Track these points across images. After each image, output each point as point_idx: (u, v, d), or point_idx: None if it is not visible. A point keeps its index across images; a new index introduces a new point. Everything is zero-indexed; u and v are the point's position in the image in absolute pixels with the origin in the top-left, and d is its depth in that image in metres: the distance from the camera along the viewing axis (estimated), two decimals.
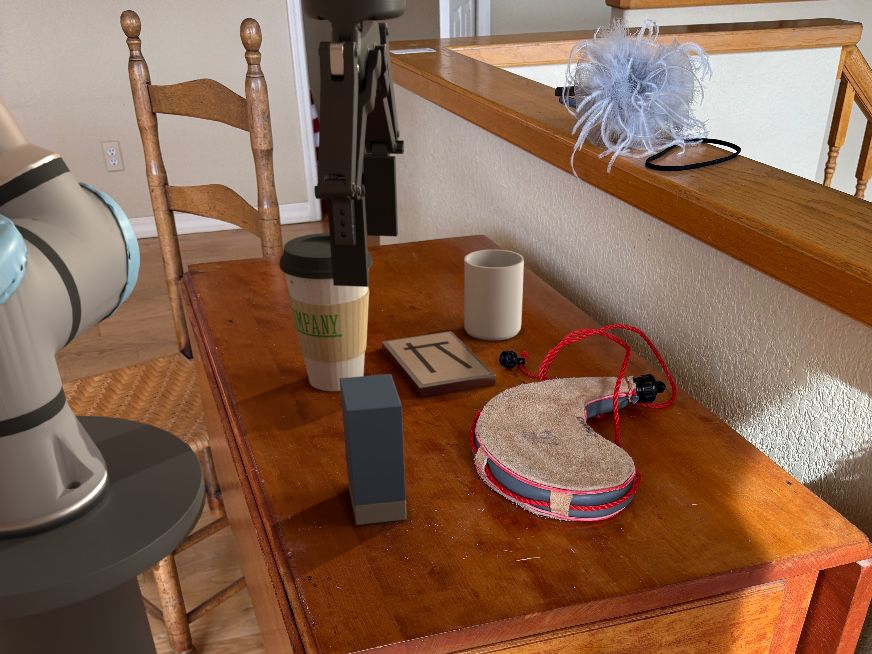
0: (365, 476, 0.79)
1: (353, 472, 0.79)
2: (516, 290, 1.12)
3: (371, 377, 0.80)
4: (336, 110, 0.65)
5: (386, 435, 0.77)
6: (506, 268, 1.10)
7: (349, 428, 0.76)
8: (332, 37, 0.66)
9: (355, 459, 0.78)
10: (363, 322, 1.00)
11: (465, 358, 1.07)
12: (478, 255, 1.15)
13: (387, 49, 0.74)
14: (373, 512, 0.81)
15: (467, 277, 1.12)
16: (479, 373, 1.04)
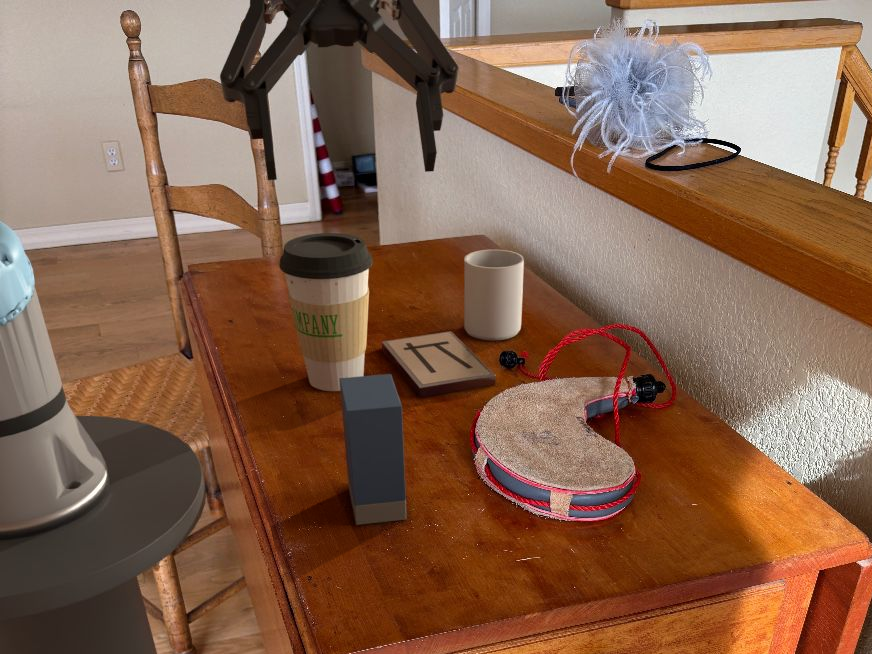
0: (365, 476, 0.79)
1: (353, 472, 0.79)
2: (516, 290, 1.12)
3: (371, 377, 0.80)
4: None
5: (386, 435, 0.77)
6: (506, 268, 1.10)
7: (349, 428, 0.76)
8: None
9: (355, 459, 0.78)
10: (363, 322, 1.00)
11: (465, 358, 1.07)
12: (478, 255, 1.15)
13: None
14: (373, 512, 0.81)
15: (467, 277, 1.12)
16: (479, 373, 1.04)
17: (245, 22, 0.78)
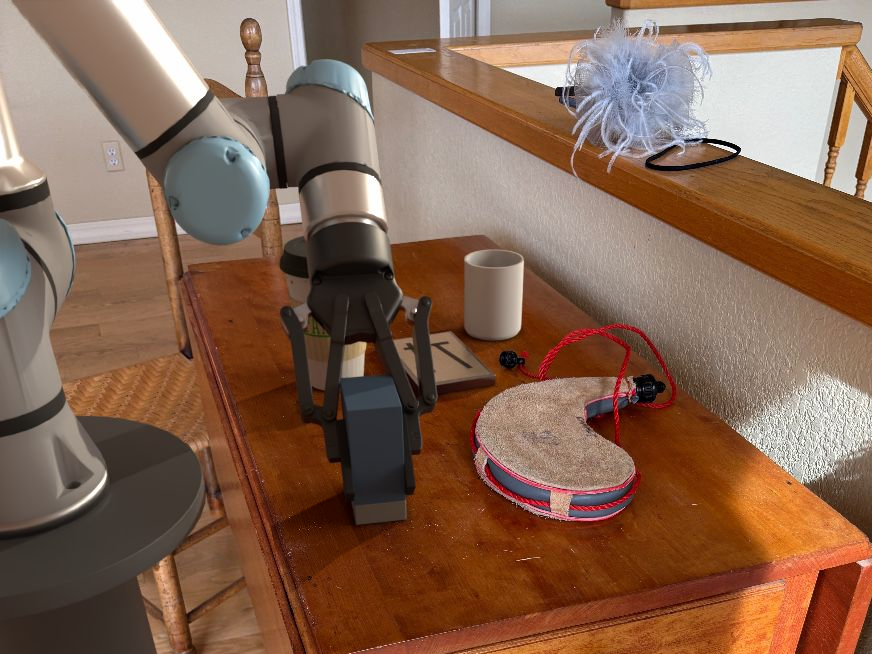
0: (365, 476, 0.79)
1: (353, 472, 0.79)
2: (516, 290, 1.12)
3: (371, 377, 0.80)
4: None
5: (386, 435, 0.77)
6: (506, 268, 1.10)
7: (349, 428, 0.76)
8: (395, 283, 0.82)
9: (355, 459, 0.78)
10: None
11: (465, 358, 1.07)
12: (478, 255, 1.15)
13: None
14: (373, 512, 0.81)
15: (467, 277, 1.12)
16: (479, 373, 1.04)
17: (294, 349, 0.79)
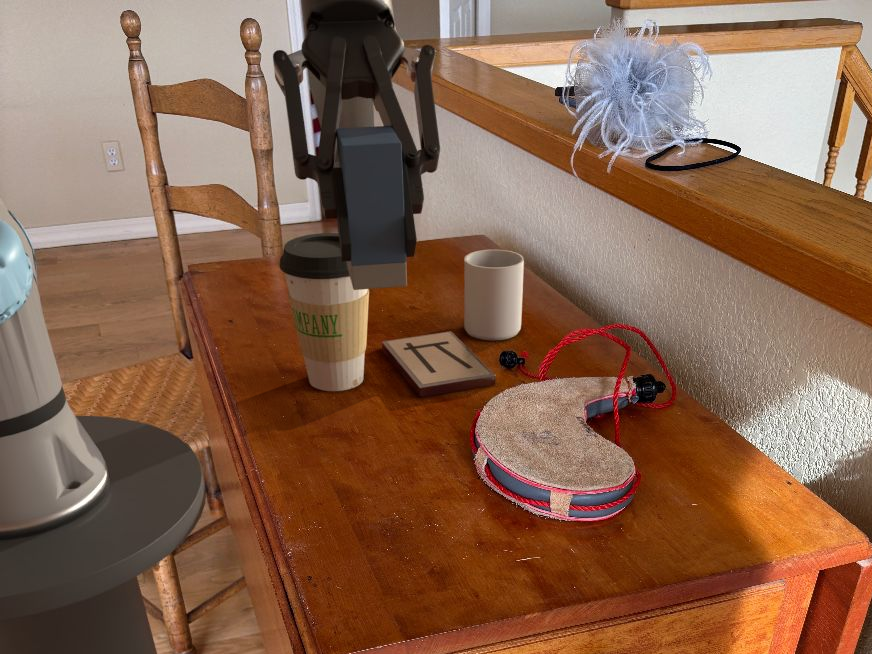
0: (363, 229, 0.74)
1: (350, 223, 0.74)
2: (516, 290, 1.12)
3: (370, 127, 0.75)
4: None
5: (384, 179, 0.72)
6: (506, 268, 1.10)
7: (345, 168, 0.71)
8: (395, 31, 0.77)
9: (352, 207, 0.73)
10: (363, 322, 1.00)
11: (465, 358, 1.07)
12: (478, 255, 1.15)
13: None
14: (372, 275, 0.76)
15: (467, 277, 1.12)
16: (479, 373, 1.04)
17: (288, 94, 0.74)
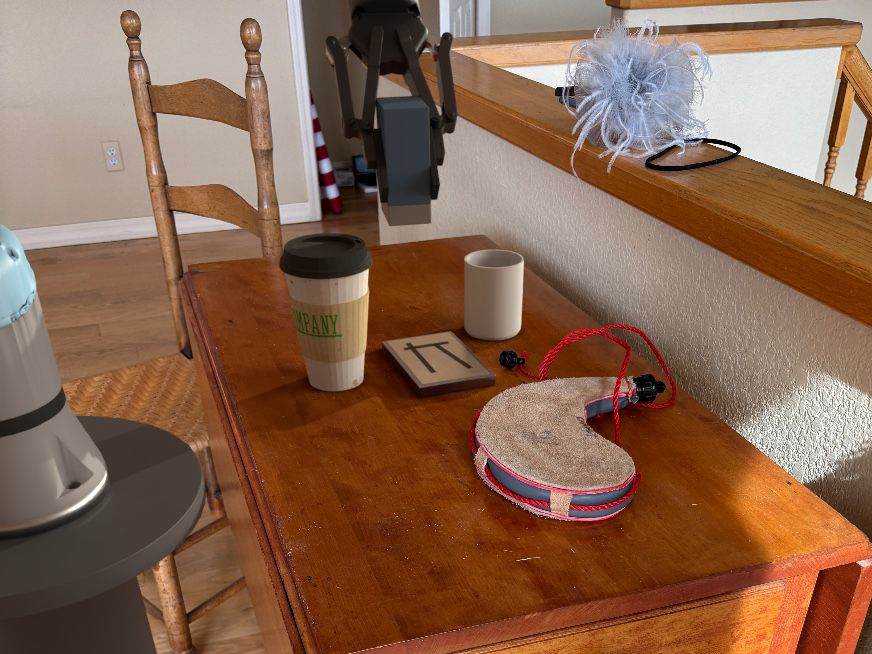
0: (398, 177, 0.94)
1: (387, 172, 0.94)
2: (516, 290, 1.12)
3: (402, 97, 0.95)
4: None
5: (415, 136, 0.92)
6: (506, 268, 1.10)
7: (385, 127, 0.91)
8: (421, 21, 0.97)
9: (390, 159, 0.93)
10: (363, 322, 1.00)
11: (465, 358, 1.07)
12: (478, 255, 1.15)
13: None
14: (404, 214, 0.97)
15: (467, 277, 1.12)
16: (479, 373, 1.04)
17: (338, 71, 0.95)
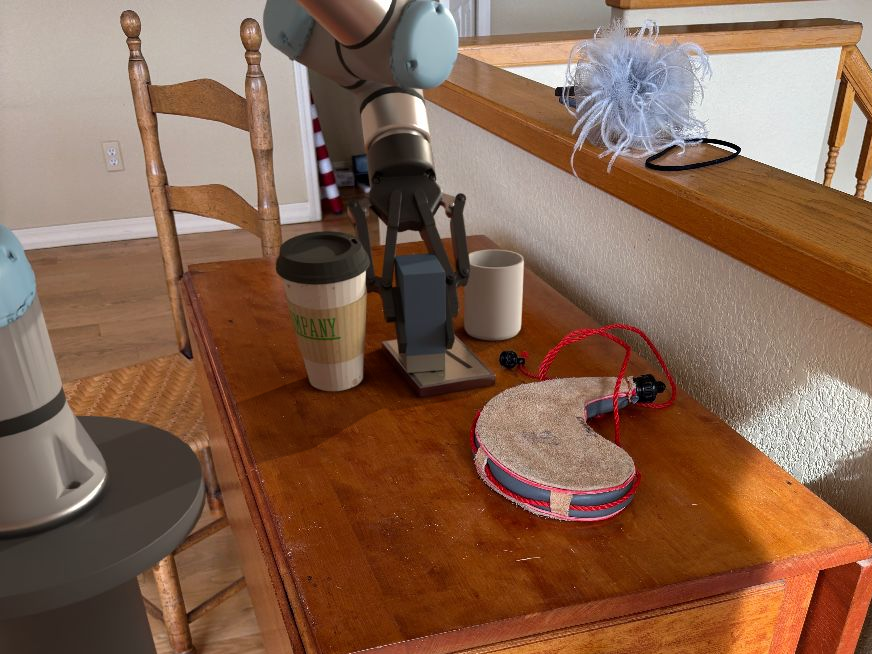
0: (415, 331, 1.01)
1: (406, 327, 1.01)
2: (516, 290, 1.12)
3: (419, 255, 1.02)
4: None
5: (432, 296, 0.99)
6: (506, 268, 1.10)
7: (404, 289, 0.98)
8: (437, 183, 1.04)
9: (408, 316, 1.00)
10: (361, 323, 1.00)
11: (465, 358, 1.07)
12: (478, 255, 1.15)
13: None
14: (420, 362, 1.04)
15: None
16: (479, 373, 1.04)
17: (359, 232, 1.01)
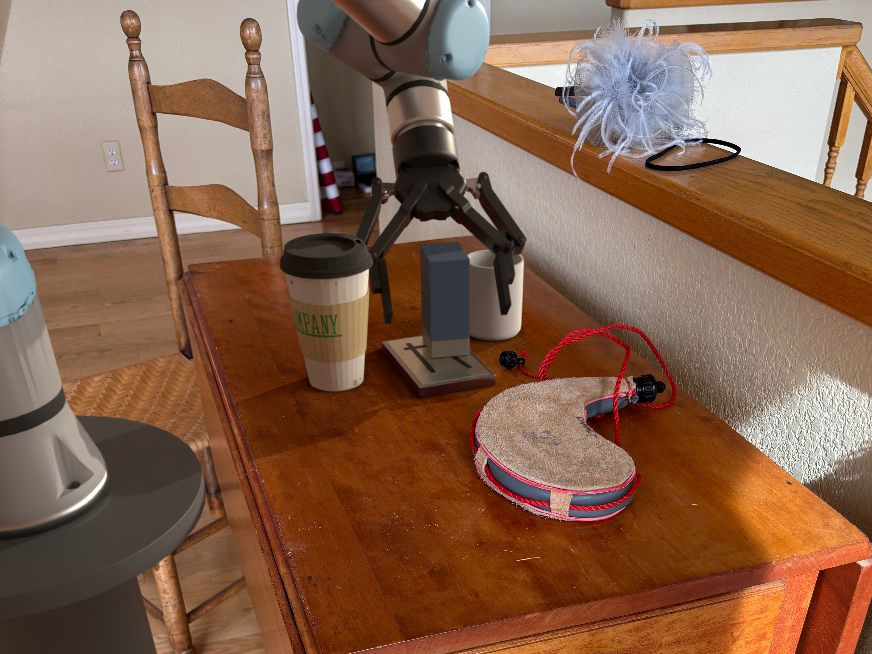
0: (440, 317, 1.05)
1: (431, 313, 1.04)
2: (516, 290, 1.12)
3: (444, 243, 1.06)
4: None
5: (457, 283, 1.03)
6: None
7: (430, 276, 1.02)
8: (460, 174, 1.07)
9: (433, 302, 1.03)
10: (363, 322, 1.00)
11: (465, 358, 1.07)
12: (478, 255, 1.15)
13: None
14: (444, 347, 1.07)
15: None
16: (479, 373, 1.04)
17: (369, 208, 1.05)
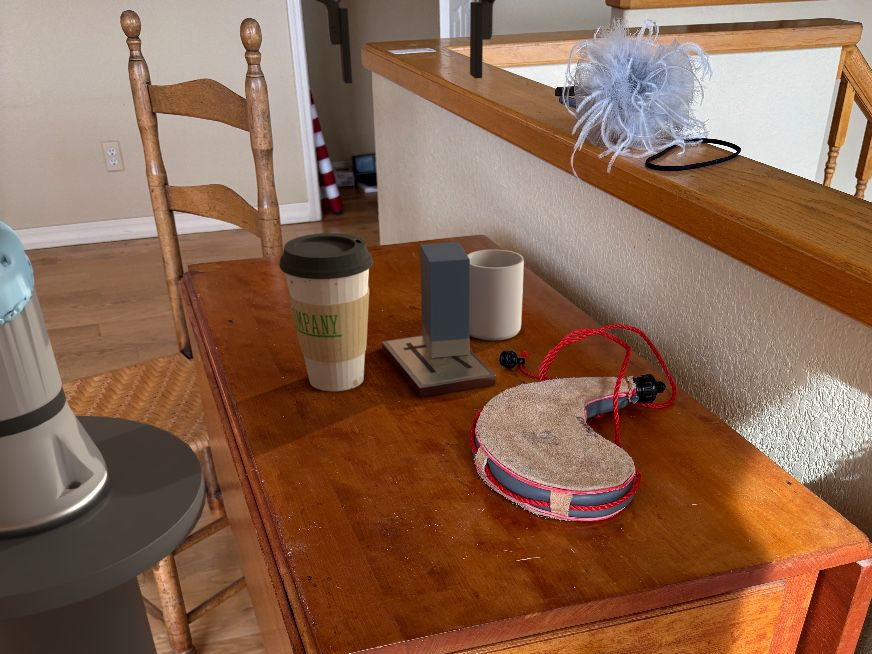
0: (440, 317, 1.05)
1: (431, 313, 1.04)
2: (516, 290, 1.12)
3: (444, 243, 1.06)
4: None
5: (457, 283, 1.03)
6: (506, 268, 1.10)
7: (430, 276, 1.02)
8: None
9: (433, 302, 1.03)
10: (363, 322, 1.00)
11: (465, 358, 1.07)
12: (478, 255, 1.15)
13: None
14: (444, 347, 1.07)
15: None
16: (479, 373, 1.04)
17: None
